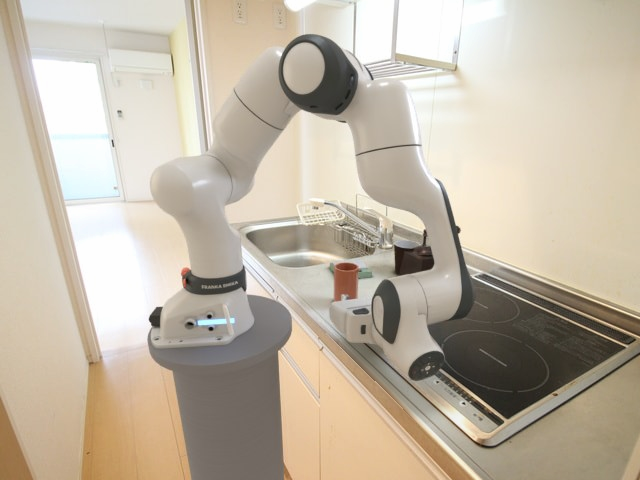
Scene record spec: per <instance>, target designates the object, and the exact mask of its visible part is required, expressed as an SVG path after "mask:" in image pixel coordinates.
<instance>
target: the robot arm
mask: <svg viewBox="0 0 640 480" xmlns="http://www.w3.org/2000/svg"><path fill="white" fill-rule="evenodd" d="M244 71H245V72H243V74H242V75H241V76H240V78H239V79H238V81H237V82H236V84H235V85H234V86H233V87H232V89H231V91H230V93H229V95H228V96H227V98H226V99H225V101H224V102H223V104H222V105H221V106H220V108H219V110H218V112H216V114H215V116H214V117H213V120H212V130H213V133H214V137H213V140H212V143H211V146H210V147H209V149H208V150H206V152H204V153H202V154H199V155H191V156H182V157H181V156H180V157H176V158H173V159H172V160H171V159H170V160H168V161H166V162H164V163H161V165H158V166H157V167H155V168H154V170H153V171H152V173H151V175H150V179H149V189H150V193H151V197H152V199H153V201H154V203H155V204H156V206H158V208H159V209H160V210H162V211H163V212H164V213H166V214H167V215H168V216H171V217H172V218H173V219H174V220H175V222H176V223H177V224H178V226H179V228H180V230H181V231H182V234H183V236H184V239H185V243H186V247H187V254H188V259H189V265H190V267H183V268H182V269H181V272H180V276H181V282H182V288H181V289H179V290H178V291H177V292H176V293H174V294H173V295H172V296H170V297H169V298H167V300H166V301H165V302H164V304H163V306H156V307H154V310H153V311H151V313H150V315H149V316H148V322H149V323H150V327H151V328H152V326H153V328H152V331H151V343H152V345H153V346H154V347H155V348H157V349H166V348H183V347H199V346H216V345H227V344H229V343H230V342H232V341H233V340H234V339H235V338H236V337H237V336H239V335H241V334H243V333H244V332H246V331H247V330H249V329H250V328H251V327H252V326H253V324H254V317H253V314H252V312H251V309H250V306H249V303H248V298H247V288H248V280H247V271H246V268H245V265H244V262H243V260H244V259H243V249H242V248H243V247H242V238H241V234H240V233H239V231H238V230H236V228H234V227H232V226H231V225H230V222H229V220H228V218H227V215H226V210H225V207H226V206H229V205H232V204H235V203H237V202H239V201H241V200H242V199H243V198H245V197H246V196H247V195H248V194H249V193H250V192H251V191H252V190H253V188H254V185H255V180H256V178H255V177H256V176H255V175H256V173H257V171H258V169H259V167H260V164H261V162H262V161H263V160H264V158H265V156H266V155H267V153H268V152H269V151H270V150H271V148H272V147H273V146H274V144H275V143H276V141H277V140H278V139H279V137H280V136H281V134H283V132H284V131H285V130H286V129H287V127H288V125H289V124H290V123H291V121H292V120H293V118H294V117H295V116H296V115H297V114H298V113H299V112H301V111H304V112H307V113H310V114H312V115H313V116H316V117H318V118H320V119H323V120H329V121H337V122H339V123H343V124H347V125H348V127H349V129H350V132H351V135H352V140H353V148H354V156H355V158H354V159H355V164H356V165H355V166H356V172H357V175H358V179H359V180H358V181H359V183H360V185H361V189H362V190H363V191H364V192H365V194H366V195H367V196H369V197H370V198H371V199H372V200H373V201H375V202H376V203H379V204H380V205H383V206H386V207H389V208H394V209H397V210H401V211H404V212H408V213H411V214H413V215H415V216H416V217H417V218H418V219H420V221H421V222H422V223H423V225H424V228H425V229H426V232H427V236H428V237H427V239H428V244H429V246H430V247H431V250H432V254H433V258H434V266H433V268H432V269H431V270H427V271H422V272H417V273H413V274H406V275H402V276H399V275H398V276H397V275H396V276H393V277H389V278H385V279H382V281H381V282H380V283H379V284H378V286H377V287H376V289H375V291H374V293H373V295H372V296H367V297H366V296H365V297H358V298H357V299H351V300H349V299H350V296H349V295H348V294H343V295H341V301H336V302H334V301H332V302H330V303H329V306H328V316H329V319H330V321H331V322H332V324H333V326H334V327H335V328H336V329H337V330H338V331H339V332H341V333H342V334H345V338H346V341H347V342H349V343H356V344H357V343H358V344H370V345H376V346H378V347H379V348H380V349H382V351H383V354H384V355H385V357H386V358H387V359H388V361H389V362H390V363H391V365H393V367H394V368H395V369H396V370H397V371H398V372H399V373H401V375H403V376H404V377H405V378H406V379H408V380H410V381H414V382H419V381H423V380H426V379H429V378H431V377H433V376H435V375H436V374H437V373H439V371H440V370H441V369H442V368H443V366H444V363H445V360H446V357H445V353H444V351H443V350H442V348H441V346H440V345H439V344H438V342H437V341H436V340H435V338H434V337H433V336H432V335H431V334H430V330H429V327H428V326H431V325H434V324H438V323H442V322H449V321H455V320H456V321H457V320H462V319H464V318H466V317H467V316H469V314H470V312H471V310H472V308H473V306H474V304H475V301H476V297H477V296H476V295H477V292H476V286H475V283H474V280H473V277H472V276H471V273H470V271H469V269H468V267H467V263H466V261H465V256H464V253H463V248H462V245H461V241H460V237H459V234H458V232H457V228H456V226H457V225H456V224H457V223H456V221H455V216H454V213H453V208H452V205H451V202H450V198H449V195H448V193H447V190H446V187H445V186H444V184H443V182H442V181H441V180H440V179H437V178H436V177H434V175H433V174H432V172H431V171H430V169H429V167H428V165H427V162H426V159H425V156H424V152H423V146H422V145H423V144H422V143H423V142H422V137H421V136H422V135H421V129H420V124H419V119H418V114H417V110H416V106H415V102H414V99H413V96H412V93H411V91H410V89H409V87H408V86H407V85H406V84H405V83H403V82H402V81H400V80H398V79H395V78H389V77H385V78H377V79H375V78H374V76H373V73H372V72H371V71H370V69H369V68H368V67H367V66H366V65H365V64H363V63H362V62H361V60H360V59H359V58H358V57H357V56H356V55H355V54H354V53H353V52H351V51H349V50H348V49H345V48H343V47H342V46H340V45H338V44H337V42H335V41H334V40H332V39H331V38H329V37H326V36H324V35H320V34H315V33H305V34H302V35H299V36H297V37H295V38H293V39H292V40H291V41H290V42H289V43H288V44H287V45H286V46H285V47H283V46H280V45H273V46H270V47H268V48H265V50H263V52H262V53H260V54H259V56H258V57H256V58H255V60H254V61H253V62H252V63H251V64H250V65H249V67H248V68H247V69H246V70H244Z"/></svg>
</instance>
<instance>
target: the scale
mask: <svg viewBox="0 0 640 480" xmlns="http://www.w3.org/2000/svg"><path fill="white" fill-rule="evenodd" d="M343 262H348V263H354V264H356V265H358V266H359V273H358V279H364V278H372V275H373V271H372V270H371V269H370V268H369V267H368V265H366V264H365V263H364V262H363V261H362V260H361V259H360V258H357V259H347V260H338V261H336V260H335V261H331V262H329V270H331V272H332V273H333V274H334V266H335V265H336V264H338V263H343Z"/></svg>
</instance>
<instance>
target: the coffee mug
mask: <svg viewBox="0 0 640 480" xmlns="http://www.w3.org/2000/svg"><path fill="white" fill-rule="evenodd" d="M419 245H421V243H419V242H417V241H416V240H415V241H414V240H409V239H401V240H400V239H399V240H396V241H394V242H393V250H394V251H393V252H394V254H393V255H394V272H395V274H397V275H399V273H400V267H401V264H402V260H403V256H404V251H412V250H413V249H414V248H413V247H416V246H419Z"/></svg>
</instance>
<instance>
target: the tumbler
mask: <svg viewBox="0 0 640 480" xmlns="http://www.w3.org/2000/svg"><path fill="white" fill-rule="evenodd" d="M358 273H359V266H358V265H356V264H354V263H348V262H343V263H338V264H336V265H335V266H334V273H333V302H336V301H341V295H343V294H348V295H349V296H350V299H349V300H351V299H358V298H359V297H358V294H359V278H358Z"/></svg>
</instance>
